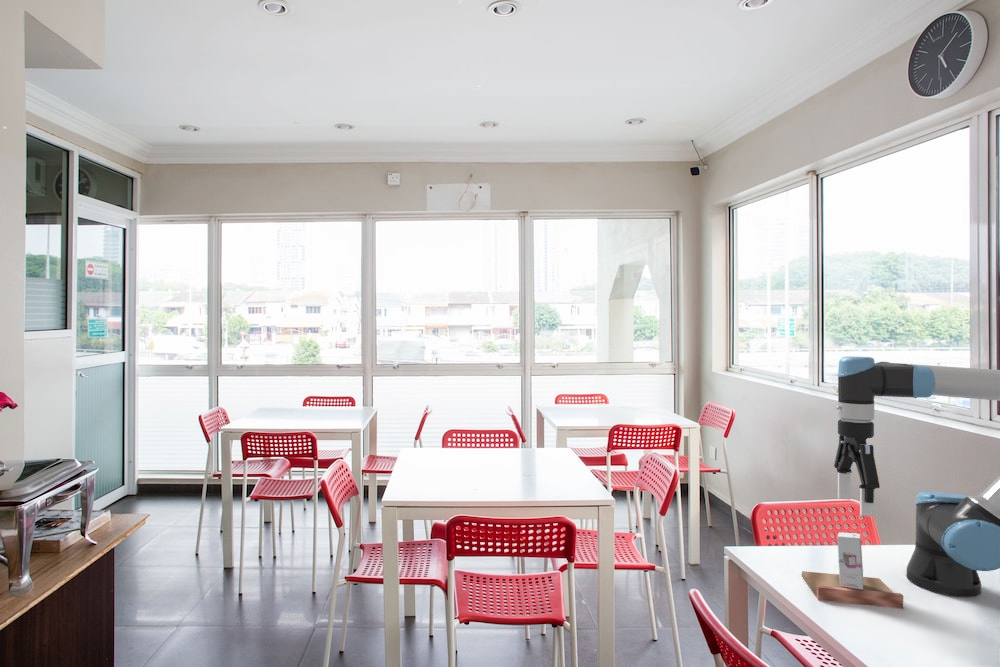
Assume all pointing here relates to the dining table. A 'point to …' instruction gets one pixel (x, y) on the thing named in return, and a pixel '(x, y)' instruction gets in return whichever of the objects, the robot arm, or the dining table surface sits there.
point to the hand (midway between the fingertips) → (855, 507)
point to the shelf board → (852, 591)
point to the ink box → (850, 560)
